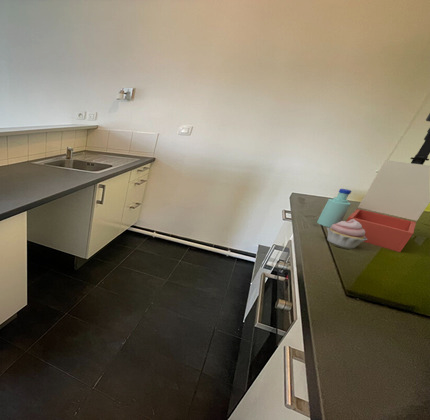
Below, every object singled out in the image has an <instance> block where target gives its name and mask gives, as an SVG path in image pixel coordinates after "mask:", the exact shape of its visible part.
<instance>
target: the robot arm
mask: <svg viewBox="0 0 430 420" xmlns="http://www.w3.org/2000/svg"><path fill="white" fill-rule="evenodd" d="M425 121H426V122H430V112H429V114H428V115H427V117H426V118H425ZM423 140H424V142H423V143H422V145H421V146H420V148H419V150H418V151H417V153H416V154H415V156H413V157H410V160H411V161H410V163H412V164H421V165H425V162H426V161H430V158H429V155H430V127H428V130H427V133H426V135H425V136H424V138H423Z"/></svg>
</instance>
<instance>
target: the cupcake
mask: <svg viewBox="0 0 430 420" xmlns="http://www.w3.org/2000/svg"><path fill="white" fill-rule="evenodd" d="M326 230H327V238H326V240H327V241H328V242H329V243H331V244H332V246H333V247H334V248H335V247H336V248H338V249H341V250H347V251H351V249H355V248H356V247H358V246H359V245H360V244H362V243H364V242H363V241H365V240H367V238H365V236H364V235H365V230H364V229H363V228H362V225H361V224H360V223H359V222H357V221H356V220H354V219H351V220H350V221H347V220H342V221H340V222H338V223H336V224H333V225H332V226H331V227H326Z"/></svg>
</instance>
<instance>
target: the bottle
mask: <svg viewBox="0 0 430 420" xmlns="http://www.w3.org/2000/svg"><path fill="white" fill-rule="evenodd" d="M351 193H352V190H350V189H347V188H340V189H339V190H338V193H337V196H333V198H328V199H327V201H326V203H325V206H324V207H323V208H322V211H321V213H320V215H319V217H318V219H317V221H316V223H317V224H319V225H321V226H323V227H326V228H330V227H331V226H332V225H333V224H336V223H338V222H340V221H343V219H344V218H345V216H346V214H347V212H348V210H349V208H350V207H351V205H352V203H351V202H349V200H348V197H349V196H350V195H351Z"/></svg>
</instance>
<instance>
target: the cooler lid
mask: <svg viewBox="0 0 430 420" xmlns="http://www.w3.org/2000/svg"><path fill="white" fill-rule="evenodd" d="M429 205H430V165H427V164H423V165H421V164H412V163H411V162H405V161H404V162H403V161H395V160H388V159H385V160H384V162H383V163H382V165H381V166H380V169H379V170H378V172H377V174H376V175H375V177H374V179H373V180H372V182H371V184H370V185H369V187H368V189H367V191H366V193H365V194H364V195H363V198H362V200H360V203H359V205H358V206H357V209H361V210H366V211H370V212H374V213H379V214H383V215H387V216H392V217H396V218H401V219H405V220H409V221H414V222H418V220H419V219H420V218H421V216H422V214H423V213H424V212H425V210H426V208H427V207H428V206H429Z"/></svg>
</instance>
